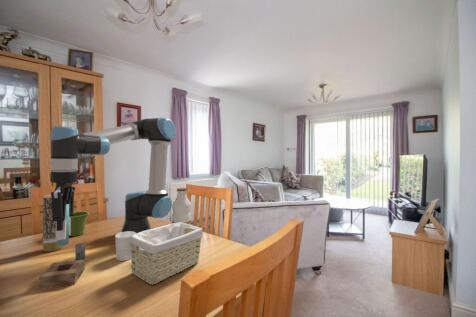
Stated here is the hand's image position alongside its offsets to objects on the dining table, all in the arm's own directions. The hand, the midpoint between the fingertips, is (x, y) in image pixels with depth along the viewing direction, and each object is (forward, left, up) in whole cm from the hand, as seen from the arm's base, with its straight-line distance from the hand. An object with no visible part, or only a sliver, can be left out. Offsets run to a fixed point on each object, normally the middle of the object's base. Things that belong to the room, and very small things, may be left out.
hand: (63, 237), depth 78 cm
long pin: (0, 0, -3) cm, 3 cm away
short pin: (-1, -13, -15) cm, 20 cm away
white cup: (-18, -12, -15) cm, 27 cm away
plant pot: (+12, -49, -15) cm, 53 cm away
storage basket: (-35, +2, -15) cm, 39 cm away
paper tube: (+15, -30, -15) cm, 37 cm away
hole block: (0, 0, -15) cm, 15 cm away
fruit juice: (-42, -20, -15) cm, 49 cm away
